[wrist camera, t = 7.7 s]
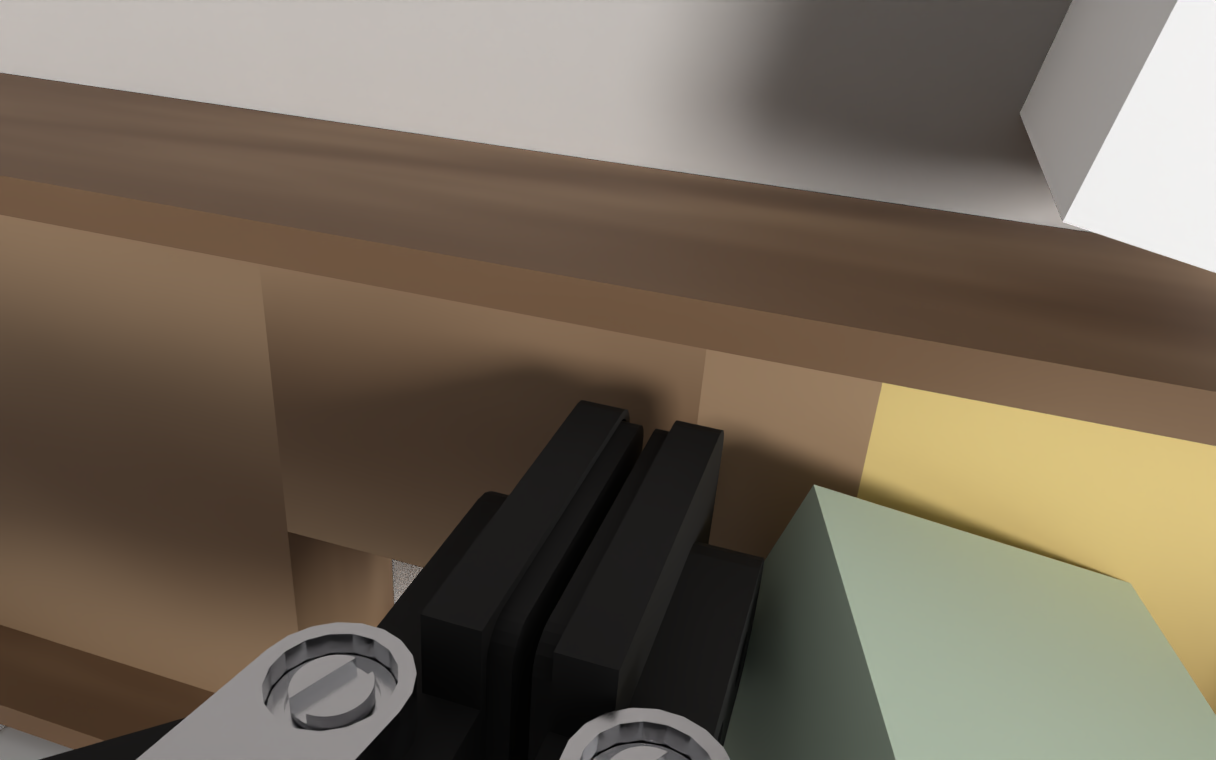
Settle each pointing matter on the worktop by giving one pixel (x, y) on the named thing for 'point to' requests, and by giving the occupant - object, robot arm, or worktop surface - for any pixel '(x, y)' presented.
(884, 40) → the worktop surface
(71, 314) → the box
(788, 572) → the block
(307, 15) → the worktop surface
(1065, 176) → the napkin holder
